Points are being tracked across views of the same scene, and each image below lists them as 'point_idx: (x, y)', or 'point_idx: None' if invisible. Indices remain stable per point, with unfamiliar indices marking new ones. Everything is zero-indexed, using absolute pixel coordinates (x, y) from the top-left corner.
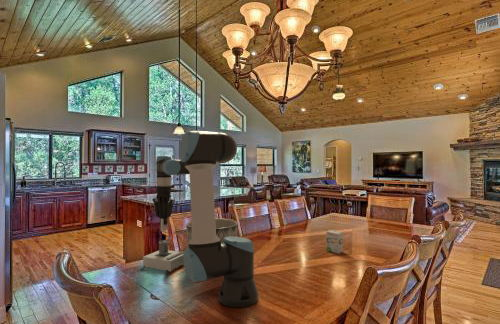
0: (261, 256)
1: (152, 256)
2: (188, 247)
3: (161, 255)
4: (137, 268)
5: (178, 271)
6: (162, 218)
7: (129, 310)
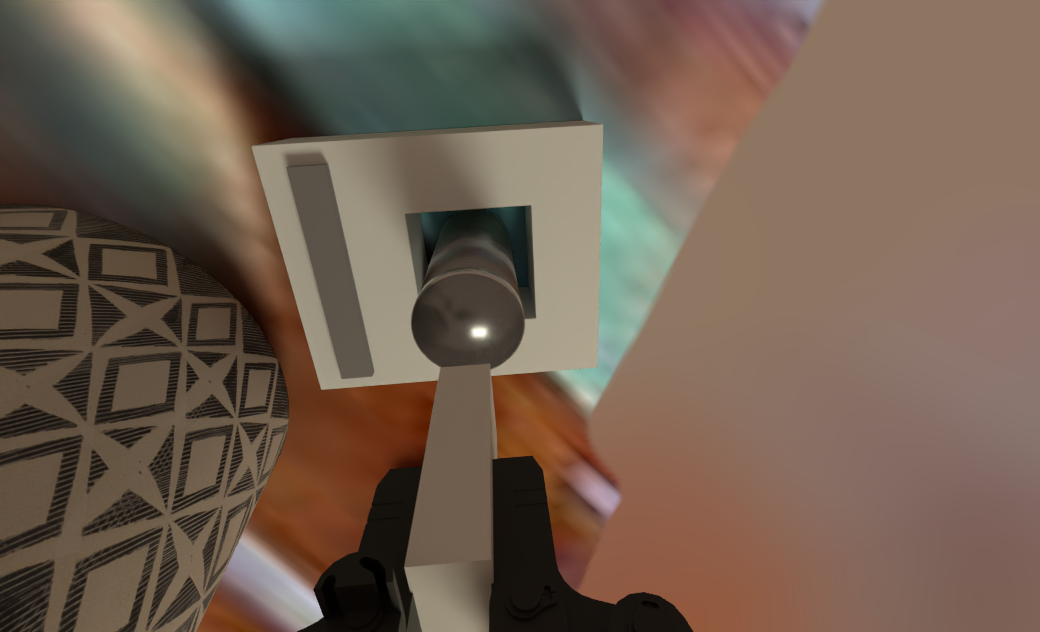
0: None
1: (523, 175)
2: (29, 292)
3: (458, 230)
4: (598, 63)
5: (239, 169)
6: (384, 562)
7: None
